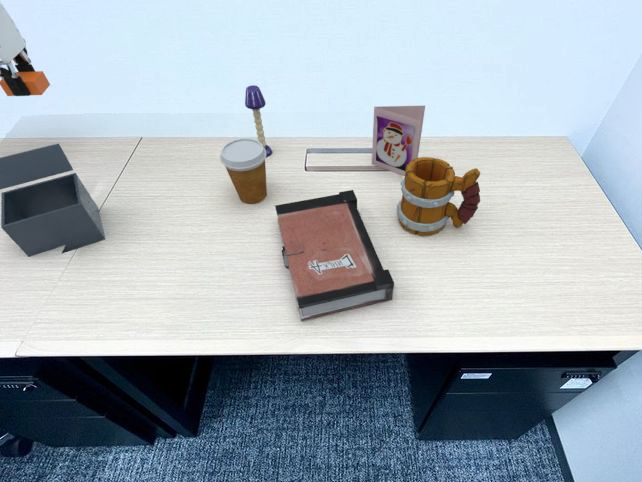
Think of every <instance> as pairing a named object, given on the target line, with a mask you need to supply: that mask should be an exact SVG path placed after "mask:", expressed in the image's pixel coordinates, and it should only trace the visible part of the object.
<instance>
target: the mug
mask: <svg viewBox="0 0 642 482" xmlns="http://www.w3.org/2000/svg"><path fill="white" fill-rule="evenodd" d="M480 175H481V171H480V170H479V169H478V168H476V167H475V168H472V169H470V170H468V171H467V172H465V173H464V174H463V176H458V175H456V172H455V170H454V167H453V166H452V165H450V163H448V161H446V160H444V159H441V158H437V157H436V158H435V157H430V156H429V157H427V156H422V157H418V158H416V159H414V160H413V161H410V162H409V163H408V164H407V166H406V170H405V176H403V179H401V181H400V186H401V188H400V190H401V194H402V195H401V199H400V200H399V202H398V203H397V204H396V209H397V211H396V213H397V215H396V216H397V221H398V224H399V225H400V227H401V228H402V229H404V230H405V231H406V232H409V234H413V235H418V236H422V237H423V236H425V237H429V236H433V235H436V234H438V233H440V232H441V231H443V229H444V228H445V226H446V224H447V222H448V220H450V219H451V222H452V226H453V227H455V228H461V227H462V226H463V225H467V223H468V222H469V221H471V219H472V218H473V217H474V215H475V213H476V212H477V211H478V209H479V204H480V203H481V195H480V192H481V189H480V185H479V182H478V181H477V180H478V179H479V177H480ZM455 192H460V194H461V196H462V199H463V200H462V201H461V203H460V206H459V207H457V206H456V205H455V203H453V202H450V201H451V199H452V198H454V196H455Z"/></svg>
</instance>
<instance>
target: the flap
mask: <svg viewBox="0 0 642 482" xmlns="http://www.w3.org/2000/svg"><path fill="white" fill-rule="evenodd" d="M72 171H74V168H73V166H72V164H71V162H70V161H69V159H68V157H67V155H66V153H65V152H64V150H63V148H62V147H61V145H60V143H54V144H50V145H45V146H42V147H38V148H34V149H30V150H25V151H21V152H17V153H14V154H10V155H5V156H1V157H0V190H4V189H7V188H12V187H15V186H19V185H23V184H26V183H30V182H34V181H38V180H42V179H45V178H49V177H54V176H57V175H61V174H64V173H67V172H72Z"/></svg>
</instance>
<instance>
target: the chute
mask: <svg viewBox="0 0 642 482" xmlns="http://www.w3.org/2000/svg"><path fill="white" fill-rule="evenodd" d="M0 195H1V202H0V203H1V205H0V207H1V208H0V210H1V211H0V216H1V217H0V228H1V229H2V230H3V231H4V232H5V234H7V235H8V236H9V237H10V239H11V240H12V241H13V242H14V243H15V244H16V246H17V247H19V248H20V249H21V251H22V252H23V253H24V254H25V255H26V256H27V257H28V258H29V257H33V256H36V255H39V254H42V253H45V252H49V251H51V250H54V249H55V250H56V249H58V248H61V247H63V249H62V251H61V254H62V255H63V254H65V253H67V252H71V251H73V250H77V249H80V248H83V247H86V246H89V245H93V244H96V243H99V242H101V241H104V240H106V237H105V236H106V235H105V232H104V228H103V222H102V219H101V214H100V209H99V207H98V205H97V204H96V202H95V201H94V199H93V197H91V194H90V193H89V191H88V190H87V188H86V186H85V185H84V183H83V182H82V180H81V179H80V177H79V176H78V174H77V173H76V172H74V173H70V174H66V175H62V176H58V177H54V178H51V179H47V180H44V181H40V182H36V183H32V184H28V185H25V186H21V187H18V188H14V189H9V190H5V191H3V192H1V193H0Z"/></svg>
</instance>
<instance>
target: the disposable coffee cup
mask: <svg viewBox="0 0 642 482" xmlns="http://www.w3.org/2000/svg"><path fill="white" fill-rule="evenodd" d="M266 155H267V153H266V150H265V148H264V147H263V145H262V144H261V143H260V142H259V141H258V139H254V138H249V137H243V138H236V139H233V140H231V141H228V142H227V143H225V144H224V145H223V146H222V147H221V150H220V156H219V159H220V162H221V164H222V165H223V167H225V169H226V172H227V174H228V176H229V178H230V180H231V183H232V185H233V187H234V189H235V191H236V194H237V196H238V198H239V200H240V202H242V203H244V204H246V205H254V204H255V205H256V204H258V203H261V202H263V201H264V200H265V199H266V198H267V195H268V189H267V187H268V186H267V170H266V158H267V157H266Z"/></svg>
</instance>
